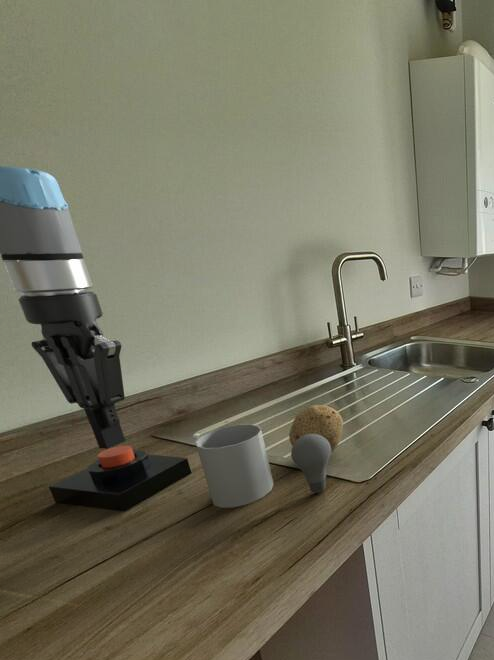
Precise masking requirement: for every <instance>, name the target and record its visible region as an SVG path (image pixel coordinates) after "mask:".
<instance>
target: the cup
mask: <svg viewBox="0 0 494 660" xmlns="http://www.w3.org/2000/svg"><path fill="white" fill-rule="evenodd" d="M265 445H266V443H265V440H264V435H263V431H262V428H261V427H260V426H259V425H256V424H251V423H248V424H247V423H244V424H234V425H229V426H224V427H220V428H217V429H214V430H211V431H208V432H207V433H205V434H203V435H200V437H198V438H197V439H196V440H195V446H196V450H197V453H198V457H199V461H200V464H201V466H202V470H203V475H204V477H205V482H206V484H207V487H208V491H209V494H210V498H211V501H212V504H213V506H216V507H218V508H221V509H227V508H229V509H230V508H238V507H242V506H246V505H249V504H252V503H254V502H256V501H258V500H260V499H262V498H264V497H265V496H267V495H268V494H269V493H270V492H272V489H273V488H274V485H275V484H274V480H273V475H272V471H271V467H270V462H269V458H268V452H267V449H266V446H265Z"/></svg>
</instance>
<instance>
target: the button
mask: <svg viewBox="0 0 494 660" xmlns="http://www.w3.org/2000/svg"><path fill="white" fill-rule="evenodd" d="M133 450H134V449H133V447H132V446H131V445H118V446H113V447H110V448H108V449H105V450H103V451H101V452H99V453H98V454H97V460H99V462H100V464H101V467H102V468H109V467H116V466H119V465H123V464H126V463H128V462H130V461H132V460H134V459H135V456H134V453H133Z"/></svg>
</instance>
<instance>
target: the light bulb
mask: <svg viewBox="0 0 494 660" xmlns="http://www.w3.org/2000/svg"><path fill="white" fill-rule="evenodd" d="M290 451H291V452H290V456H291V457H290V458H291V460H292V462H293V463H294V465H295V466H296V467H297V468H298V469H299V470H301V471H302V473H303V475H304V478H305V480H306V482H307V483H308V486H309V490H310V492H311V493H314V494H321V493H322V492H323V491H325V490H326V488H327V482H326V478H327V466H328V463H329V461H330V458H331V455H332V453H331V446H330V443H329V442H328V440H327V439H325V438H324V437H323V436H321V435H317V434H308V435H304V436H302V437H300V438H299V439H298V440H297V441H296V442H295V443H294V445H292V447H291V449H290Z"/></svg>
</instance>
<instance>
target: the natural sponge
mask: <svg viewBox="0 0 494 660" xmlns="http://www.w3.org/2000/svg"><path fill="white" fill-rule="evenodd" d="M343 426H344V421H343V418H342V416H341V414H340V413H339V412H338V411H337V410H335V409H334V408H332V407H330V406H328V405H321V404H314V405H309V406H307V407H305V408H303V409H302V410H301V411H299V412H298V413H297V415H296V416H295V417H294V420H293V422H292V425H291V427H290V430H289V433H288V434H289V435H288V438H289V442H290V444H291V446H293V445H294V443H295V442H296V441H297V440H298V439H299V438H300V437H302V436H304V435H308V434H317V435H321V436H323V437H324V438H325V439H327V440H328V442H329V443H330V446H331V454H332V453H333V452H334V451H335V450H336V448H337V447H338V446H339V444H340V441H341V439H342V435H343V428H344V427H343Z"/></svg>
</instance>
